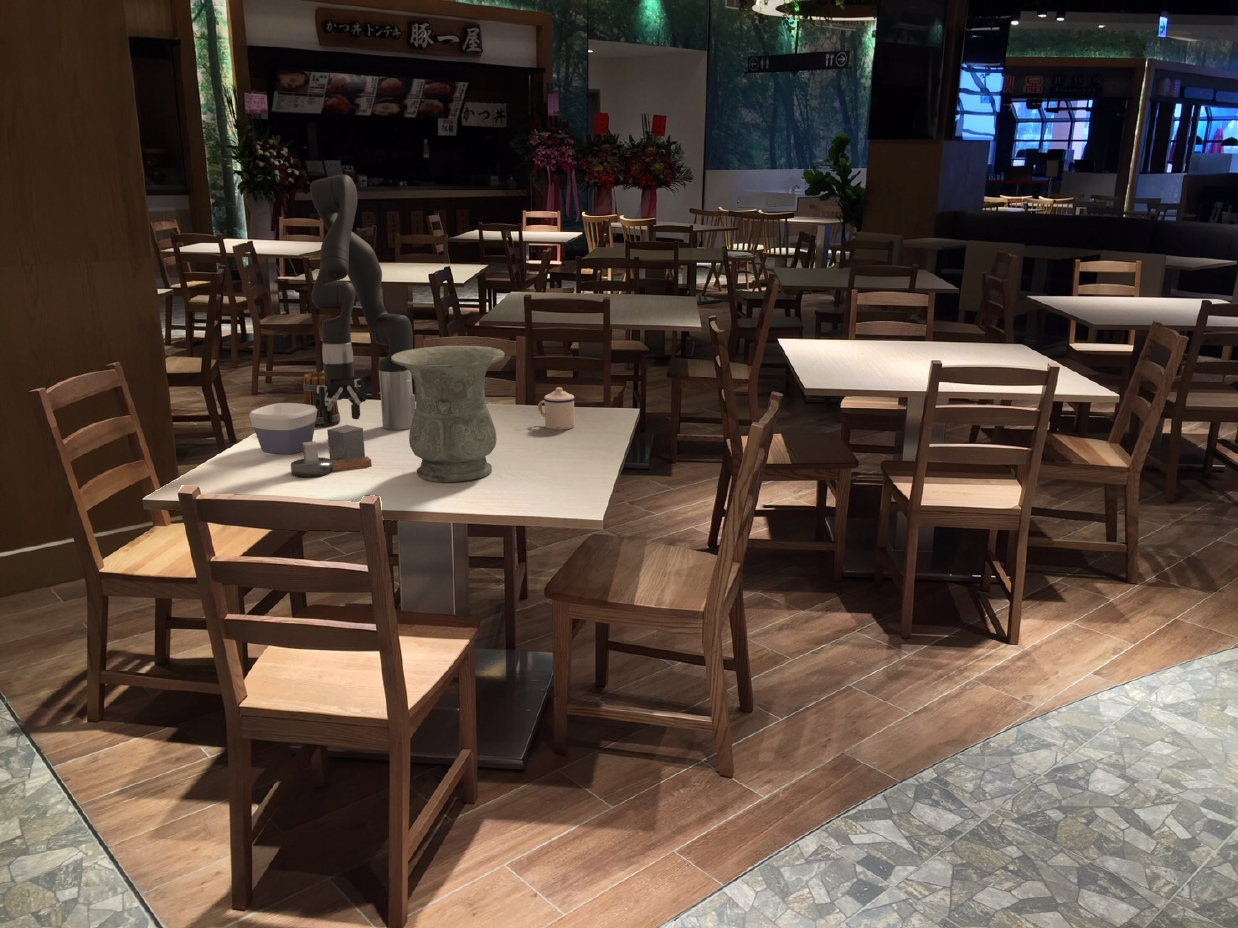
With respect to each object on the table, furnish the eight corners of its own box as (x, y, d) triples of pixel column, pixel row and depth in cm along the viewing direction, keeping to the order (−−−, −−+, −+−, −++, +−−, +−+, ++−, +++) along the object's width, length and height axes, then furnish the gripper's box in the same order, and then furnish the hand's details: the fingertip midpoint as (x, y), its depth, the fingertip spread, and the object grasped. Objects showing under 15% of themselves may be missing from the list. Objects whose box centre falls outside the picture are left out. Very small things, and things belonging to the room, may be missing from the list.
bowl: (245, 453, 275) (240, 413, 272) (281, 440, 289) (278, 401, 286) (292, 458, 270) (289, 417, 267) (327, 444, 284) (324, 405, 281)
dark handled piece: (364, 460, 268) (362, 432, 266) (374, 469, 259) (372, 440, 257) (287, 470, 259) (285, 441, 257) (296, 480, 251) (293, 450, 249)
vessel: (383, 486, 245) (374, 362, 237) (419, 457, 270) (412, 344, 262) (493, 490, 241) (488, 364, 233) (519, 460, 267) (515, 346, 259)
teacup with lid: (581, 425, 304) (580, 386, 301) (563, 431, 297) (563, 392, 293) (547, 420, 310) (547, 382, 307) (530, 426, 302) (529, 388, 299)
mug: (335, 428, 302) (330, 377, 298) (299, 428, 303) (294, 378, 298) (349, 416, 317) (345, 368, 313) (315, 416, 318) (311, 368, 314)
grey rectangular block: (349, 453, 274) (347, 424, 272) (365, 457, 270) (362, 428, 268) (329, 459, 269) (327, 429, 267) (345, 462, 265) (343, 432, 263)
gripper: (351, 355, 270) (355, 415, 275) (305, 362, 259) (310, 424, 264) (369, 358, 266) (373, 419, 270) (324, 365, 255) (328, 428, 259)
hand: (342, 421), depth 267 cm, fingers open, 8 cm apart
